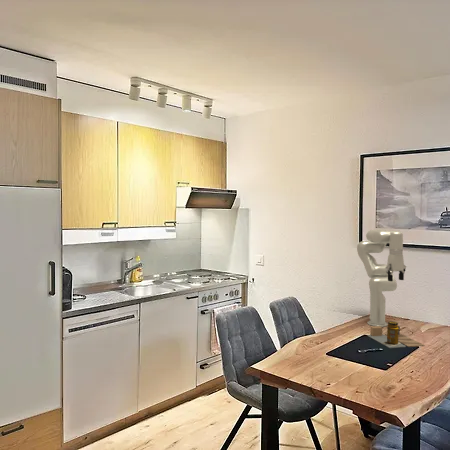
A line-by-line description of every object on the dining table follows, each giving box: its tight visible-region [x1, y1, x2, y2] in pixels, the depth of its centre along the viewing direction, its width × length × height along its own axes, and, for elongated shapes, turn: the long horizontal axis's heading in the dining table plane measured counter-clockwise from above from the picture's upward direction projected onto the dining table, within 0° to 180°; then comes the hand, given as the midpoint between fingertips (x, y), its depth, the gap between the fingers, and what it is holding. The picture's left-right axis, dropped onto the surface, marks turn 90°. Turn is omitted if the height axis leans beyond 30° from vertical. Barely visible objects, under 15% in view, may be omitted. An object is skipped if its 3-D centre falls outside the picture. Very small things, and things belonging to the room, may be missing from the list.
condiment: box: [382, 321, 402, 346], centre depth 251 cm, size 7×8×12 cm
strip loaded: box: [367, 326, 407, 349], centre depth 257 cm, size 24×10×6 cm, turn 11°
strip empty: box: [384, 325, 425, 348], centre depth 259 cm, size 24×10×6 cm, turn 11°
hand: (395, 280), depth 268 cm, fingers open, 9 cm apart
